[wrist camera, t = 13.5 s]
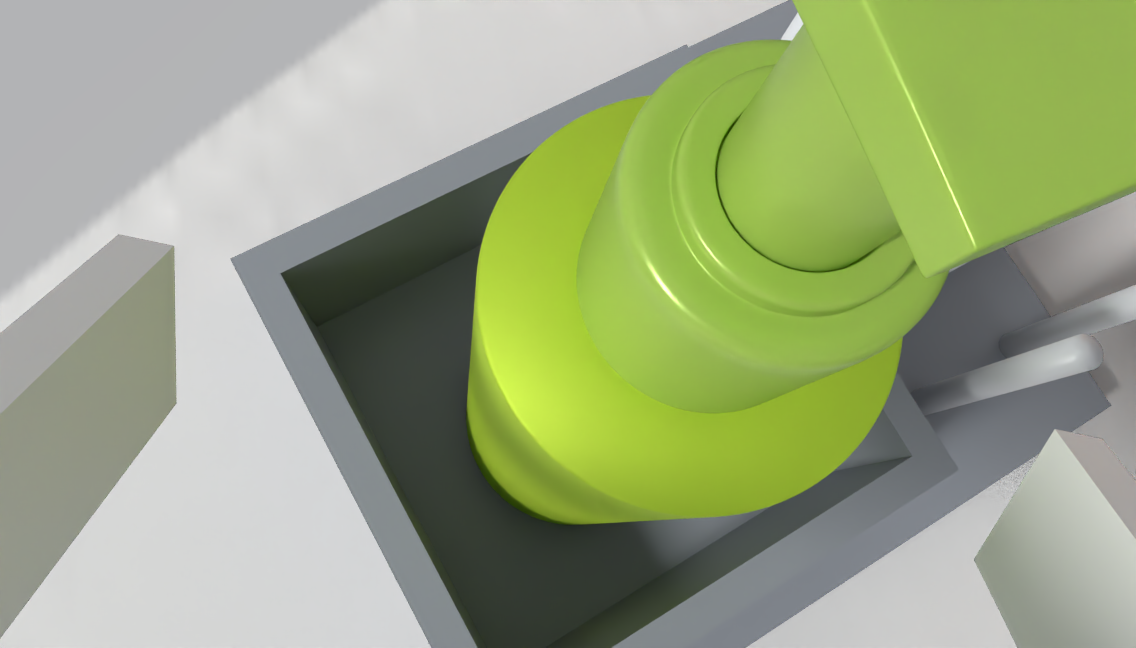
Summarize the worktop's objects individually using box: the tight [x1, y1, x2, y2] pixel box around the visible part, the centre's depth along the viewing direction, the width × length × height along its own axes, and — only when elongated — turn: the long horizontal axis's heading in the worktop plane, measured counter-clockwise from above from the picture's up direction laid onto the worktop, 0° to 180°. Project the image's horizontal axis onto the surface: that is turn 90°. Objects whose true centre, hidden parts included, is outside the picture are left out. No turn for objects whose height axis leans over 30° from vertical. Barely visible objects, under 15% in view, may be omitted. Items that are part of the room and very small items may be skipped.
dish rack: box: [231, 0, 1136, 648], centre depth 23 cm, size 20×16×8 cm
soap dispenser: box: [466, 0, 1136, 525], centre depth 15 cm, size 6×7×20 cm
